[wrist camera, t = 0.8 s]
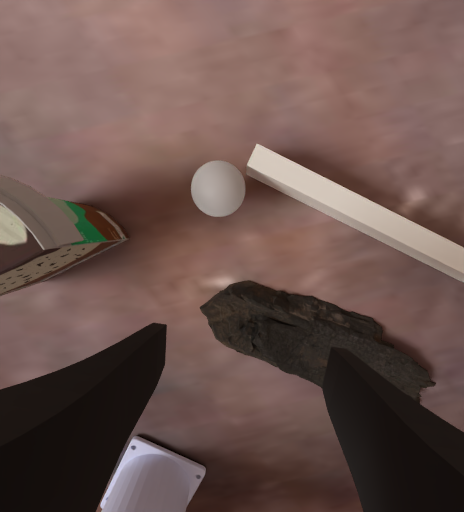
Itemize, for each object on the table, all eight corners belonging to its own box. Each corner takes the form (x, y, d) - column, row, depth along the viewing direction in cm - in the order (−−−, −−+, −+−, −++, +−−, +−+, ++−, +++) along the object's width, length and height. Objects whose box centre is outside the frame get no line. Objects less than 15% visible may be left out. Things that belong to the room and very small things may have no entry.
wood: (449, 354, 22) (483, 376, 19) (405, 418, 23) (430, 449, 20) (227, 248, 21) (225, 253, 18) (193, 320, 22) (185, 335, 19)
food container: (109, 163, 20) (-24, 109, 10) (145, 231, 20) (54, 244, 11) (-9, 227, 21) (-232, 236, 11) (28, 288, 22) (-149, 347, 12)
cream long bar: (511, 360, 21) (573, 393, 17) (194, 205, 20) (182, 202, 16) (552, 306, 20) (629, 328, 16) (222, 140, 19) (217, 121, 15)
